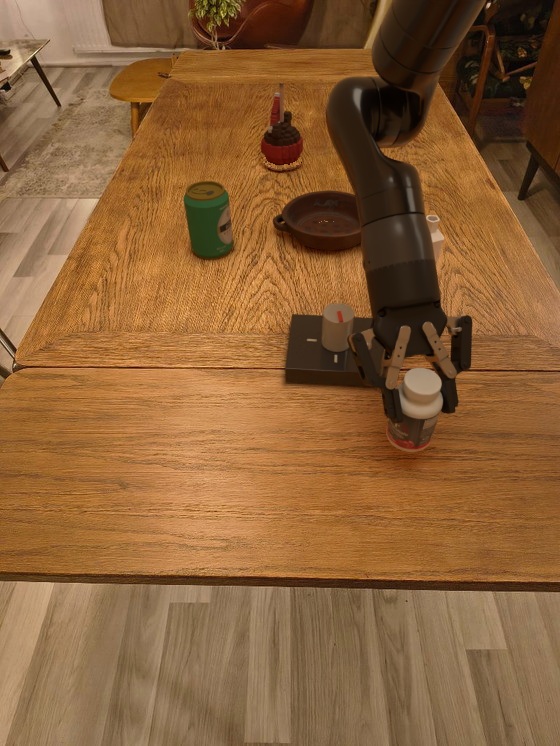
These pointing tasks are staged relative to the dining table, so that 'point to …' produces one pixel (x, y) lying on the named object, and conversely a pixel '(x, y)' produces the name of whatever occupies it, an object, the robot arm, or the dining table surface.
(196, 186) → the beverage can
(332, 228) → the dish
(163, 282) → the dining table surface
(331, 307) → the stove knob
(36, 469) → the dining table surface
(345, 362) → the black dial box
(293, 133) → the cake
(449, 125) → the dining table surface
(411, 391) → the pill bottle
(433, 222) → the perfume bottle
